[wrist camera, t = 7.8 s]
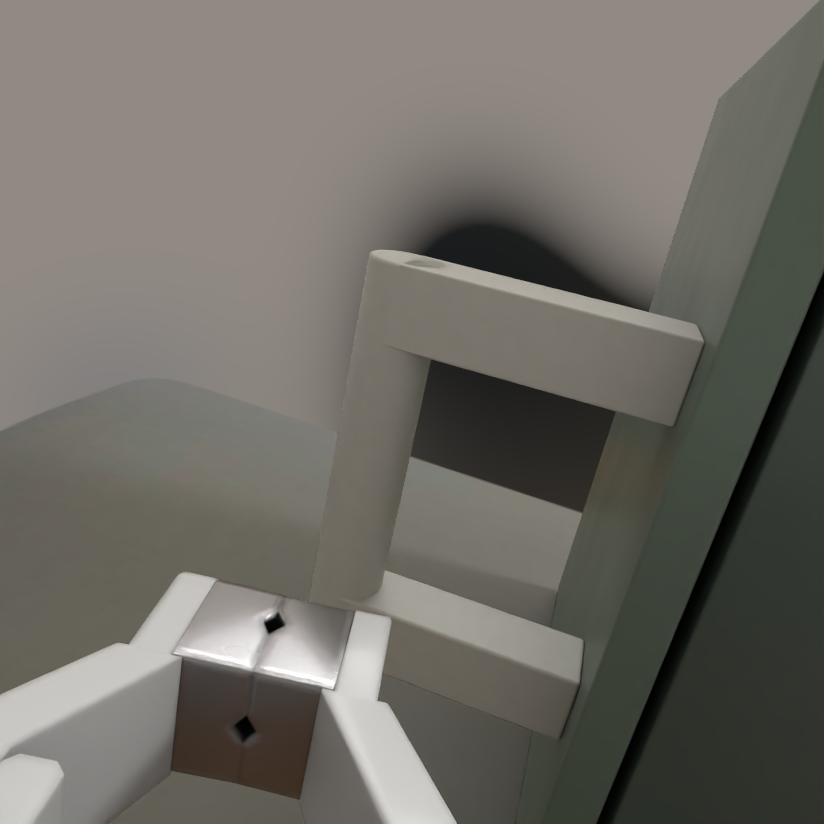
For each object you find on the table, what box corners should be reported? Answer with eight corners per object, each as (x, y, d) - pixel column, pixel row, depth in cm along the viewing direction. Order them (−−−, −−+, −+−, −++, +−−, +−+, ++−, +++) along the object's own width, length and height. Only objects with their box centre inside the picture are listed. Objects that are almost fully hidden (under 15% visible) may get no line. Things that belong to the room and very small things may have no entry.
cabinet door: (241, 845, 17) (390, -114, 10) (421, 540, 32) (534, 62, 25) (533, 979, 16) (952, -36, 9) (581, 594, 30) (750, 102, 23)
